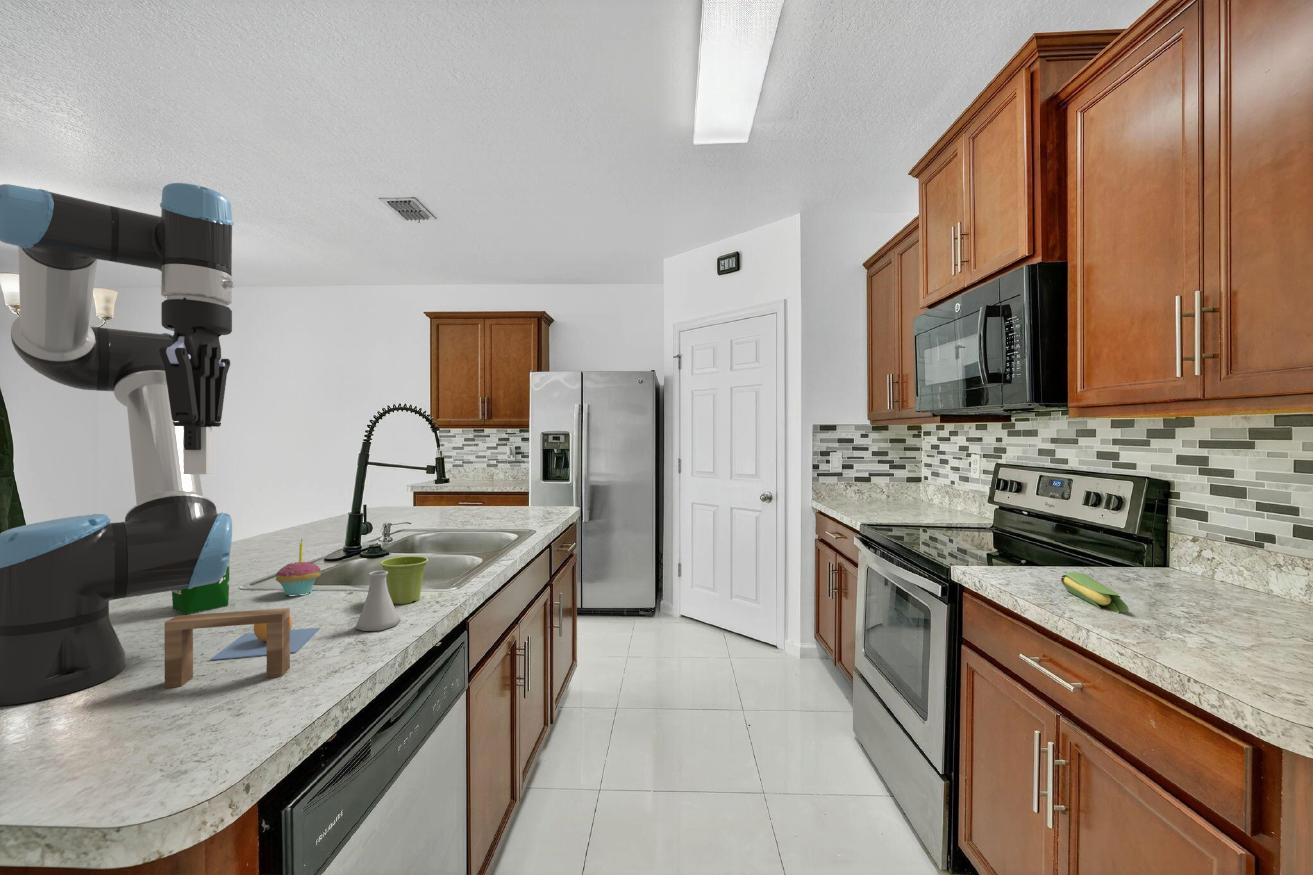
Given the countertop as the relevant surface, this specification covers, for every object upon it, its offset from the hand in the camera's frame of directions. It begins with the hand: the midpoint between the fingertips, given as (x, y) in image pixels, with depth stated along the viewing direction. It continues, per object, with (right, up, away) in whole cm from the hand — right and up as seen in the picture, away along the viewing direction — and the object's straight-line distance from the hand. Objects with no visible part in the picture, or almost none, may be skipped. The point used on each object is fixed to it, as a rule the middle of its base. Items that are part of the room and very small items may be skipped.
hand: (197, 473), depth 77 cm
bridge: (+1, -30, +5) cm, 31 cm away
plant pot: (+9, -30, +43) cm, 54 cm away
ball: (-3, -27, +19) cm, 34 cm away
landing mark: (-3, -30, +18) cm, 35 cm away
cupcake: (-17, -30, +48) cm, 60 cm away
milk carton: (-31, -31, +38) cm, 58 cm away
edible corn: (+156, -30, +42) cm, 165 cm away
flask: (+11, -30, +27) cm, 42 cm away
